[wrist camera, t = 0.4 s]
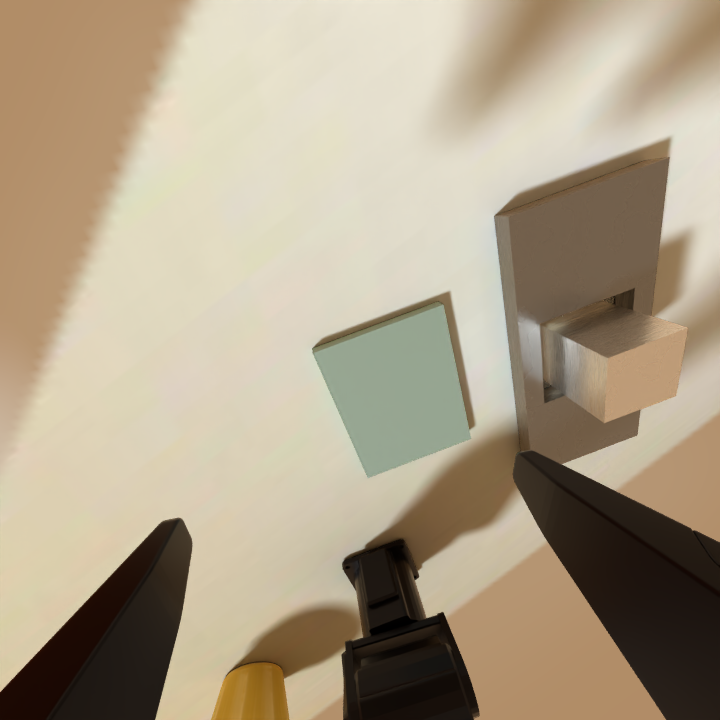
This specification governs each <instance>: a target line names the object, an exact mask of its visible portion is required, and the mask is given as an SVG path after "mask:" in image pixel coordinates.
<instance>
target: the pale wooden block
mask: <svg viewBox="0 0 720 720" xmlns="http://www.w3.org/2000/svg"><path fill="white" fill-rule="evenodd" d="M687 332H688V328H687V327H684V326H681V325H678V324H675V323H671V322H668V321H665V320H662V319H659V318H656V317H652V316H649V315H646V314H643V313H640V312H637V311H633V310H630V309H627V308H624V307H621V306H618V305H614V304H611V303H608V302H605V301H599V302H597V303H594V304H591V305H589V306H586V307H583V308H581V309H578V310H575V311H573V312H570V313H567V314H565V315H562V316H559V317H557V318H554V319H552V320H549V321H546V322H544V323H541V324H540V338H541V355H542V371H543V380H544V381H546V382H547V383H549V384H550V385H551V386H553V387H554V388H556V389H557V390H558V391H560V392H561V393H563V394H564V395H565V396H567V397H568V398H570V399H571V400H572V401H574V402H575V403H577V404H578V405H579V406H581V407H582V408H584V409H585V410H586V411H588V412H589V413H591V414H592V415H593V416H595V417H596V418H598V419H599V420H600V421H602V422H603V423H606V422H609V421H611V420H614V419H617V418H619V417H622V416H624V415H627V414H630V413H632V412H635V411H638V410H640V409H643V408H645V407H648V406H651V405H653V404H656V403H659V402H661V401H664V400H667V399H669V398H672V397H674V396H676V393H677V388H678V382H679V376H680V371H681V365H682V360H683V354H684V348H685V343H686V337H687Z"/></svg>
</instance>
